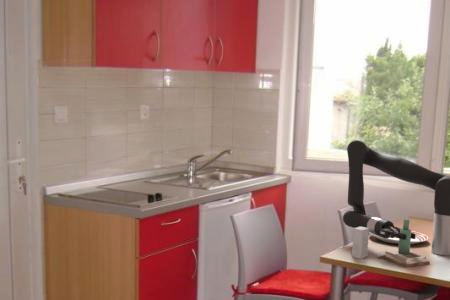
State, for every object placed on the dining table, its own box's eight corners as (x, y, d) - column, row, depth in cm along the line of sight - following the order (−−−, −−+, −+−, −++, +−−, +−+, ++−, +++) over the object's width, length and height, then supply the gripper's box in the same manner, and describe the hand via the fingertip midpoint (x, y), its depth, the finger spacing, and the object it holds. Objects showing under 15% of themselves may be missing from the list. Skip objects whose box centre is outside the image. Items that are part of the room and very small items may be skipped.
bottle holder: (403, 255, 252) (404, 248, 252) (429, 264, 240) (430, 256, 240) (378, 258, 246) (379, 251, 245) (404, 267, 233) (404, 259, 233)
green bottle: (403, 251, 246) (406, 218, 244) (411, 254, 242) (414, 220, 241) (395, 252, 244) (398, 218, 242) (403, 255, 240) (406, 221, 238)
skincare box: (358, 254, 251) (359, 226, 250) (367, 256, 248) (369, 227, 247) (351, 256, 246) (353, 228, 245) (360, 258, 243) (362, 230, 242)
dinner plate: (420, 235, 294) (420, 228, 294) (434, 249, 267) (435, 241, 266) (363, 232, 296) (364, 225, 296) (372, 245, 269) (372, 238, 269)
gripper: (368, 219, 251) (398, 228, 236) (393, 217, 258) (424, 226, 243) (366, 237, 251) (396, 247, 237) (392, 235, 258) (422, 244, 243)
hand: (410, 236), depth 240 cm, fingers closed on green bottle, 4 cm apart
